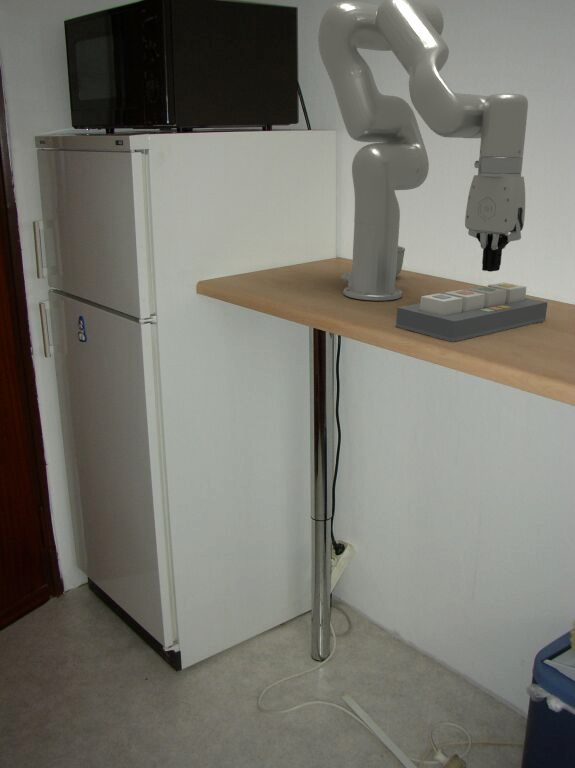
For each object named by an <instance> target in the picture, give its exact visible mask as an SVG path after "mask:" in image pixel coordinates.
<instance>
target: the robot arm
mask: <svg viewBox="0 0 575 768" xmlns="http://www.w3.org/2000/svg"><path fill="white" fill-rule="evenodd" d="M444 22H445V21H444V17H443V13H442V11H441V9H440V8H439V6H438V5H437V4H436V3H434V2H433V1H431V0H383V1H382V2H381V3H380V4H379V5H378V4H373V3H366V2H362V1H356V0H341V1H338V2H335V3H332V4H331V5H330V6H329V7H327V9H326V10H325V11H324V13H323V15H322V17H321V20H320V23H319V26H318V27H319V28H318V33H317V34H318V35H317V38H318V39H317V41H318V51H319V55H320V58H321V61H322V64H323V66H324V69H325V70H326V72H327V75H328V77H329V79H330V82H331V85H332V87H333V90H334V91H333V92H334V94H335V97H336V101H337V104H338V108H339V111H340V114H341V117H342V120H343V121H342V122H343V124H344V126H345V129H346V132H347V133H348V136H349V137H350V138H351V139H352V140H353V141H357V142H361V143H362V142H363V143H370V144H366V145H364V146H363V147H361V148H360V149H359V150H358V151H357V152H356V153H355V155H354V157H353V159H352V163H351V164H352V165H351V175H352V177H351V178H352V183H353V188H354V189H353V190H354V216H353V217H354V219H353V221H354V223H353V226H354V227H353V240H352V241H353V244H352V248H353V249H352V261H351V263H352V265H351V271H349V270H347V271H346V272H345V273H343V274H342V275H341V280H342V281H345V282H347V286H346V287H344V289H343V295H344V296H345V297H348V298H352V299H357V300H361V301H362V300H363V301H374V302H377V301H380V302H382V301H393V300H397V299H398V300H399V299H400V298H401V297H402V295H403V290H401V289H400V288H397V287H396V283H397V282H396V278H397V276H396V267H397V253H398V246H399V235H400V223H401V222H400V218H401V212H400V211H401V210H400V209H401V208H400V204H399V201H398V198H397V195H396V191H405V190H406V191H408V190H409V191H410V190H414V189H417V188H419V187H420V186H421V185H423V184H424V182H425V181H426V180H427V178H428V174H429V169H430V167H429V166H430V164H429V157H428V153H427V152H428V151H427V149H426V145H425V142H424V139H423V137H422V133H421V129H420V127H419V124H418V121H417V117H416V115H415V112H414V111H413V109H412V107H411V106H410V104H409V103H408V102H407V101H406V100H404V98H402V97H399V96H395V95H389V94H388V95H386V94H382V93H381V92H380V91H379V89H378V87H377V84H376V82H375V79H374V74H373V72H372V70H371V68H370V66H369V64H368V63H367V61H366V60H365V58H363V56H362V55H361V54H360V52H359V51H358V49H363V50H368V51H370V50H371V51H379V52H389V51H390V52H392V53H393V54H394V56H395V57H396V59H397V60H398V62H399V63H400V64H401V66H402V67H403V69H404V71H406V73H407V74H408V76H409V78H408V90H409V91H408V92H409V97H410V101H411V104H412V105H413V108H414V109H415V110H416V112H417V113H418V115H419V116H420V117H421V119H422V120H423V122H424V123H425V124H426V125H427V127H428V128H429V129H430V130H431V131H432V132H433V133H435V134H436V135H438V136H440V137H443V138H449V139H450V138H461V139H480V146H479V158H478V160H475V161H474V168H475V169H478V170H477V174H474V175H473V177H472V180H471V185H470V187H469V193H468V196H467V201H466V203H467V204H466V207H465V209H466V210H465V217H464V226H465V229H467V230H468V231H467V232H468V236H470V237H472V238H475V239H477V241H478V242H479V244H480V249H481V250H483V251H482V263H481V264H482V265H481V267H482V269H481V270H482V271H484V272H490V273H491V272H498V271H499V270H500V268H501V264H502V255H503V254H502V253H503V250H505V248H506V246H507V245H508V244H509V243H510V242H515V241H516V242H517V241H520V240H521V239H522V234H521V233H522V232H521V231H522V230H524V229H523V228H524V224H525V217H526V216H525V215H526V186H525V185H526V183H525V177H524V176H522V170H523V163H524V161H523V160H524V151H525V149H524V148H525V140H526V130H527V129H526V128H527V120H528V109H529V100H528V98H527V96H526V95H524V94H522V93H521V94H520V93H494V94H490V95H488V96H487V95H478V94H471V93H459V92H454V91H453V90H452V89H451V88H450V87H449V85H448V84H447V83H446V81H445V80H444V79H443V77H442V76H441V74H440V71H441V70H442V69H443V68H444V66H445V65H446V63H447V61H448V59H449V55H450V50H449V47H448V44H447V43H446V42H445V40H444V39H443V38H442V36H441V35H442V33H443V30H444V24H445V23H444Z"/></svg>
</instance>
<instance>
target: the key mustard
mask: <svg viewBox="0 0 575 768" xmlns="http://www.w3.org/2000/svg"><path fill="white" fill-rule="evenodd" d="M487 287H491V288H497V289H502V290H506V299H505V302H506V303H513V302H518V301H523V300H525V298H526V294H527V293H526V292H527V286H524V285H519V284H513V283H508V282H500V283H499V282H498V283H494V284H493V283H492V284H488V285H487Z"/></svg>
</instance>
